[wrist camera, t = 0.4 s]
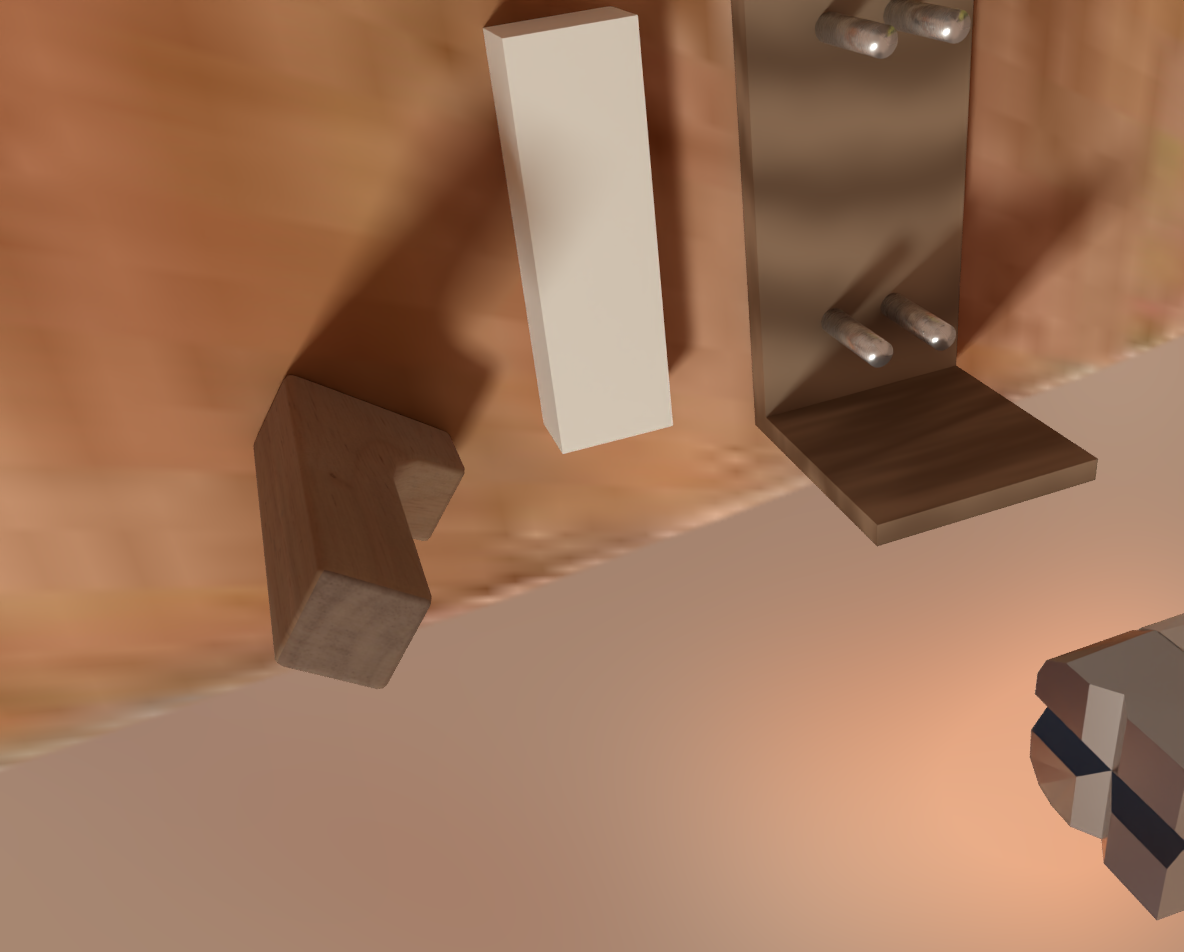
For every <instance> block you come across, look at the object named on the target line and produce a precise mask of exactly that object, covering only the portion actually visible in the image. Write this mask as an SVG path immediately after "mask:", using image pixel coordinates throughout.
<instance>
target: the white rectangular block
mask: <svg viewBox="0 0 1184 952" xmlns="http://www.w3.org/2000/svg"><path fill="white" fill-rule="evenodd" d="M483 32H484V38H485V45H486V51H487V58H488V64H489V71H490V77H491V84H492V90H493V97H494V103H495V110H496V116H497V123H498V129H499V136H500V142H501V149H502V155H503V162H504V168H505V175H506V181H507V188H508V194H509V201H510V207H511V214H512V220H513V227H514V233H515V240H516V246H517V253H518V259H519V266H520V272H521V279H522V285H523V292H524V298H525V305H526V311H527V318H528V324H529V331H530V337H531V344H532V350H533V357H534V363H535V370H536V376H537V383H538V389H539V396H540V402H541V409H542V415H543V422H544V425H545V426H546V428H547V430H548V431H549V433H550V434H551V436H552V438H553V439H554V441H555V442H556V444H557V446H558V447H559V449H560V450H561V452H562V454H565V453H569V452H572V451H576V450H580V449H584V448H588V447H592V446H596V445H600V444H604V443H608V442H611V441H615V440H619V439H623V438H627V437H631V436H635V435H639V434H643V433H647V432H651V431H654V430H658V429H662V428H666V427H670V426H673V421H672V409H671V397H670V386H669V374H668V362H667V351H666V339H665V327H664V316H663V304H662V292H661V281H660V269H659V257H658V245H657V234H656V222H655V210H654V199H653V187H652V175H651V164H650V152H649V140H648V129H647V117H646V105H645V94H644V82H643V70H642V59H641V47H640V35H639V24H638V15H636V14H633V13H630V12H627V11H624V10H621V9H618V8H615V7H612V6H608V7H602V8H596V9H590V10H584V11H578V12H573V13H567V14H561V15H555V16H549V17H543V18H537V19H531V20H526V21H520V22H514V23H508V24H502V25H496V26H490V27H485V28H483Z"/></svg>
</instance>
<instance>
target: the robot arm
mask: <svg viewBox="0 0 1184 952" xmlns="http://www.w3.org/2000/svg"><path fill="white" fill-rule="evenodd" d="M1035 694H1036V695H1037V697H1039V698H1040V699H1041V701H1042V702H1043V703H1044V704H1045V705H1046V706H1047V708H1046V709H1045V711H1044V713H1043V714H1042V715H1041V717H1040V718H1039V719H1038V721H1037V722H1036V724H1035V725H1034V727H1033V728H1032V730H1031V744H1030V745H1031V746H1030V759H1031V762H1032V765H1033V768H1034V771H1035V774H1036V778H1037V781H1038V784H1039V786H1040V788H1041V789H1042V791H1043V792H1044V794H1045V796H1046V797H1047V799H1048V801H1049V802H1050V804H1051V805H1052V807H1053V808H1054V809H1055V810H1056V811H1057V812H1058V813H1059V815H1060V816H1061V817H1062V818H1063V819H1064V820H1065V821H1066V822H1067V823H1068V825H1069V826H1070V827H1073V828H1075V829H1078V830H1080V831H1083V832H1085V833H1087V834H1090V835H1093V836H1095V837H1097V838H1100V839H1101V841H1102V850H1103V860H1104V864H1105V865H1106V866H1107V867H1108V868H1109V869H1110V871H1111V872H1112V873H1113V874H1114V875H1115V876H1116V877H1117V878H1118V879H1119V880H1120V881H1121V882H1122V883H1123V885H1124V886H1125V887H1126V888H1127V889H1128V890H1129V891H1130V892H1131V893H1132V894H1133V895H1134V896H1135V897H1136V898H1137V900H1139V902H1140V903H1141V904H1142V905H1143V906H1144V907H1145V908H1146V909H1147V910H1148V911H1149V912H1150V914H1151V915H1152V916H1153V917H1154V918H1155V919H1156V920H1159V919H1162V918H1165V917H1167V916H1170V915H1173V914H1175V913H1178V912H1181V911H1184V614H1180V615H1178V616H1175V617H1172V618H1169V619H1166V620H1163V621H1161V622H1157V623H1154V624H1151V625H1148V626H1145V627H1142V628H1140V629H1139V630H1132V631H1129V632H1126V633H1123V634H1121V635H1117V636H1115V637H1112V638H1109V639H1106V640H1103V641H1100V642H1098V643H1095V644H1092V645H1089V646H1086V647H1083V648H1080V649H1078V650H1075V651H1072V652H1069V653H1066V654H1064V655H1061V656H1058V657H1055V658H1052V659H1049V660H1047V661H1046V662H1045V663H1044V665H1043V666H1042V668H1041V669H1040V670H1039V672H1038V674H1037V683H1036V690H1035Z"/></svg>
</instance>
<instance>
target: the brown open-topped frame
mask: <svg viewBox="0 0 1184 952" xmlns="http://www.w3.org/2000/svg"><path fill="white" fill-rule="evenodd" d="M973 2H974V0H731V7H732V24H733V42H734V59H735V76H736V94H737V111H738V129H739V146H740V163H741V181H742V198H743V216H744V233H745V250H746V268H747V285H748V302H749V320H750V337H751V355H752V372H753V389H754V407H755V424H756V426H757V427H758V428H759V429H760V430H761V431H762V432H763V433H764V434H765V435H766V436H767V437H768V438H769V439H770V440H771V441H772V442H773V443H774V444H775V445H776V446H777V447H778V448H779V449H780V450H781V451H782V452H783V453H784V454H785V455H786V456H787V457H788V458H789V459H790V460H791V461H792V462H793V463H794V464H795V465H796V466H797V467H798V468H799V469H800V470H801V471H802V472H803V473H804V474H805V475H806V476H807V477H808V478H809V479H810V480H811V481H812V482H813V483H814V484H815V485H816V486H817V487H818V488H819V489H821V491H822V492H823V493H824V494H826V496H827V497H828V498H829V499H830V500H831V501H832V502H834V504H835V505H836V506H837V507H838V508H839V509H840V510H841V511H842V512H843V513H844V514H845V515H846V516H847V517H848V518H849V519H850V520H851V521H852V522H853V523H854V524H855V525H856V526H858V527H859V529H861V531H862V532H864V534H865V535H866V536H867V537H868V538H869V539H870V540H871V541H872V542H873V543H874V544H875V545H877V546H879V545H882V544H886V543H889V542H892V541H896V540H899V539H902V538H905V537H909V536H912V535H916V534H919V533H922V532H925V531H928V530H932V529H935V528H938V527H942V526H945V525H948V524H952V523H955V522H958V521H961V520H965V519H968V518H971V517H974V516H978V515H981V514H984V513H988V512H991V511H994V510H998V509H1001V508H1004V507H1007V506H1011V505H1014V504H1017V503H1021V502H1024V501H1027V500H1030V499H1034V498H1037V497H1040V496H1043V495H1047V494H1050V493H1053V492H1057V491H1060V490H1063V489H1066V488H1070V487H1073V486H1076V485H1079V484H1083V483H1086V482H1089V481H1093V480H1095V477H1096V469H1097V462H1098V459H1097V458H1096V457H1094V456H1093V455H1091V454H1089V453H1088V452H1087V451H1085V450H1084V449H1082V448H1081V447H1079V446H1078V445H1076V444H1074V443H1073V442H1071V441H1070V440H1068V439H1067V438H1065V437H1064V436H1062V435H1061V434H1059V433H1058V432H1056V431H1054V430H1053V429H1052V428H1050V427H1049V426H1047V425H1045V424H1044V423H1043V422H1041V421H1040V420H1038V419H1036V418H1035V417H1033V416H1032V415H1030V414H1029V413H1027V412H1026V411H1024V410H1023V409H1021V408H1020V407H1018V406H1017V405H1015V404H1014V403H1012V402H1011V401H1009V400H1008V399H1006V398H1005V397H1003V396H1002V395H1000V394H999V393H997V392H995V391H994V390H992V389H991V388H989V387H988V386H986V385H985V384H983V383H982V382H980V381H979V380H977V379H976V378H974V377H973V376H971V375H970V374H968V373H967V372H965V371H964V370H962V369H961V368H959V367H958V366H956V355H957V334H958V313H959V293H960V272H961V251H962V230H963V210H964V189H965V168H966V147H967V127H968V106H969V85H970V64H971V44H972V23H973Z"/></svg>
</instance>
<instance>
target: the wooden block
mask: <svg viewBox="0 0 1184 952" xmlns="http://www.w3.org/2000/svg"><path fill="white" fill-rule="evenodd" d="M254 457H255V467H256V478H257V488H258V498H259V507H260V517H261V527H262V536H263V546H264V556H265V566H266V576H267V585H268V595H269V605H270V615H271V625H272V635H273V645H274V655H275V660H276V662H277V663H278V664H280V665H282V666H284V667H288V668H292V669H296V670H300V671H305V672H309V673H313V674H317V675H321V676H325V677H329V678H334V679H338V680H342V681H346V682H350V683H354V684H358V685H363V686H367V687H371V688H375V689H380V688H384V687H385V686H386V685H387V684H388V682H389V680H390V678H391V676H392V674H393V673H394V671H395V669H396V667H397V665H398V664H399V662H400V660H401V658H402V656H403V654H404V652H405V650H406V649H407V647H408V645H409V643H410V642H411V640H412V638H413V636H414V634H415V632H416V631H417V629H418V627H419V625H420V623H421V621H422V620H423V618H424V616H425V614H426V612H427V610H428V609H429V607H430V604H431V593H430V590H429V587H428V584H427V581H426V578H425V575H424V572H423V569H422V566H421V563H420V559H419V556H418V553H417V550H416V547H415V544H414V541H413V539H417V540H421V541H426V540H428V539H429V538H430V537H431V535H432V533H433V531H434V529H435V527H436V526H437V524H438V522H439V520H440V518H441V516H442V514H443V512H444V511H445V509H446V507H447V505H448V503H449V501H450V499H451V498H452V496H453V494H454V492H455V490H456V488H457V486H458V484H459V483H460V481H461V479H462V477H463V475H464V466H463V464H462V462H461V459H460V457H459V455H458V453H457V451H456V448H455V446H454V444H453V442H452V439H451V437H450V435H449V434H448V433H447V432H445V431H442V430H440V429H437V428H434V427H432V426H429V425H426V424H424V423H421V422H418V421H416V420H413V419H410V418H408V417H405V416H402V415H400V414H397V413H394V412H391V411H389V410H386V409H383V408H381V407H378V406H375V405H373V404H370V403H367V402H365V401H362V400H359V399H357V398H354V397H351V396H349V395H346V394H343V393H340V392H338V391H335V390H332V389H330V388H327V387H324V386H322V385H319V384H316V383H314V382H311V381H308V380H305V379H303V378H300V377H297V376H294V375H288V376H287V377H286V378H285V379H284V380H283V382H282V384H281V386H280V389H279V391H278V393H277V395H276V397H275V399H274V402H273V404H272V406H271V408H270V410H269V412H268V414H267V417H266V419H265V421H264V423H263V425H262V427H261V430H260V432H259V434H258V436H257V438H256V440H255V442H254Z"/></svg>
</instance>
